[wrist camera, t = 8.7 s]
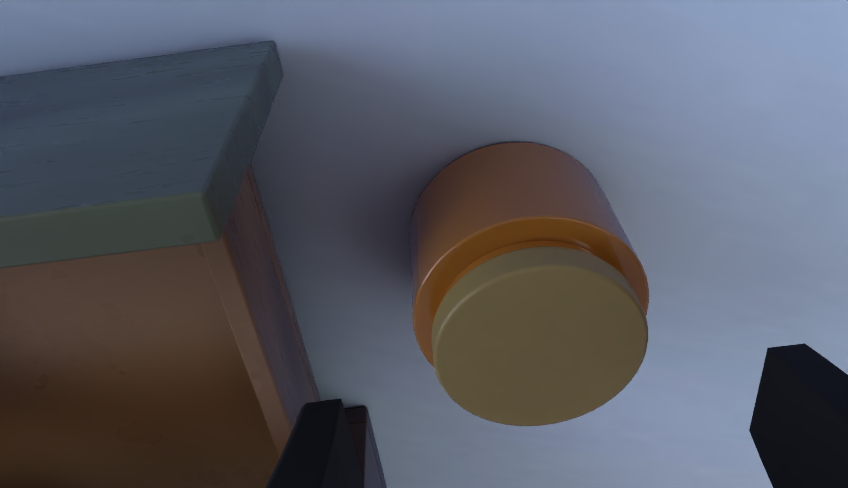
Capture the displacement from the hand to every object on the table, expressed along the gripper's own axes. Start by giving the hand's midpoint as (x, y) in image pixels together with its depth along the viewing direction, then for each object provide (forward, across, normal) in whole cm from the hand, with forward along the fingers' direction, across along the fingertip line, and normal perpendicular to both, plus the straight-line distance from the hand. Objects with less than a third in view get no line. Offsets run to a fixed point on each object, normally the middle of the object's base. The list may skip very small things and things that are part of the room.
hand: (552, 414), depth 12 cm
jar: (+6, 0, 0) cm, 6 cm away
